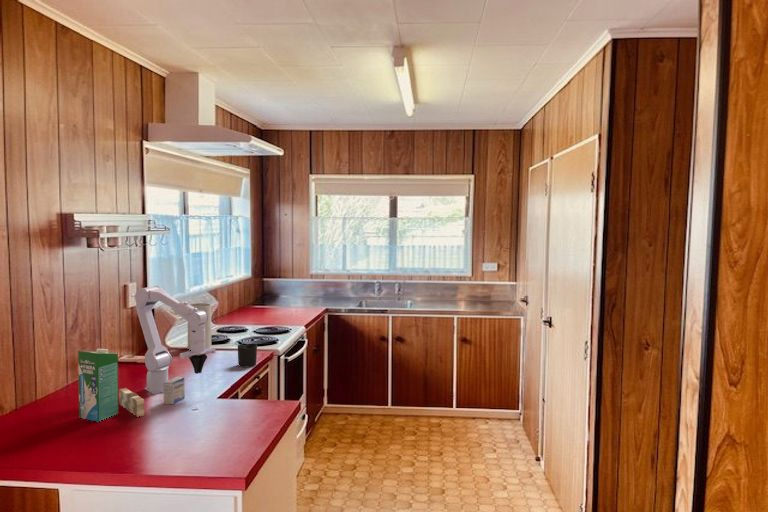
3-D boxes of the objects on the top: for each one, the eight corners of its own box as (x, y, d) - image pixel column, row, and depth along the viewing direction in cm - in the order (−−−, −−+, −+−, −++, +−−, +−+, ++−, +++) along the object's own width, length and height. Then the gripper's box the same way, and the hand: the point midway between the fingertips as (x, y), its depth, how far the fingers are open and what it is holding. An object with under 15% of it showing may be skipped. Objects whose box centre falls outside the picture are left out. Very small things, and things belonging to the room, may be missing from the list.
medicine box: (173, 404, 204) (173, 383, 203) (163, 403, 205) (163, 382, 204) (184, 398, 212) (184, 377, 211) (175, 397, 213) (174, 376, 212)
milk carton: (118, 414, 193) (118, 347, 191) (98, 422, 185) (97, 353, 183) (100, 410, 196) (99, 345, 194) (78, 419, 187) (77, 350, 186)
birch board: (119, 404, 203) (119, 388, 202) (126, 403, 205) (125, 387, 204) (137, 417, 190) (137, 400, 190) (144, 415, 192) (144, 398, 192)
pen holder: (250, 368, 256) (250, 348, 256) (233, 366, 259) (233, 346, 259) (260, 363, 265) (260, 344, 265) (244, 361, 268) (244, 342, 268)
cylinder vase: (194, 345, 300) (194, 302, 298) (215, 347, 298) (215, 303, 296) (183, 351, 287) (183, 306, 286) (204, 352, 286) (204, 307, 284)
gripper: (185, 344, 206) (185, 378, 207) (219, 339, 216) (219, 371, 217) (177, 341, 211) (177, 374, 212) (210, 336, 221) (210, 368, 222)
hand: (198, 372), depth 215 cm, fingers closed
